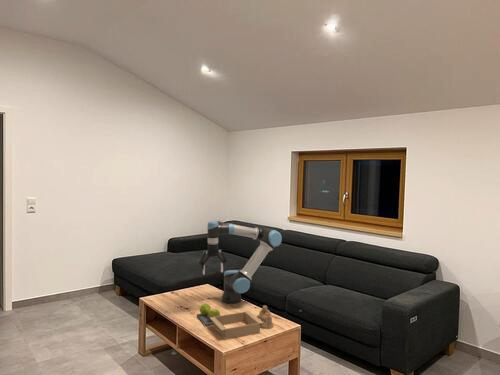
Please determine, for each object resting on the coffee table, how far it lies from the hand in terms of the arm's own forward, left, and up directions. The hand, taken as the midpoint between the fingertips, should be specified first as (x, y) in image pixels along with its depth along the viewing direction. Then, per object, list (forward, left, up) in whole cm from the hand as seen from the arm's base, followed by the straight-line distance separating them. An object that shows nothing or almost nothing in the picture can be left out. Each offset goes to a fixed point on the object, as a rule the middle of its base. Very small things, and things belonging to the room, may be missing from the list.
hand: (212, 273), depth 277 cm
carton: (-2, +38, -27) cm, 46 cm away
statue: (-21, +40, -27) cm, 53 cm away
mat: (+8, +17, -27) cm, 32 cm away
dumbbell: (+8, +16, -25) cm, 31 cm away
